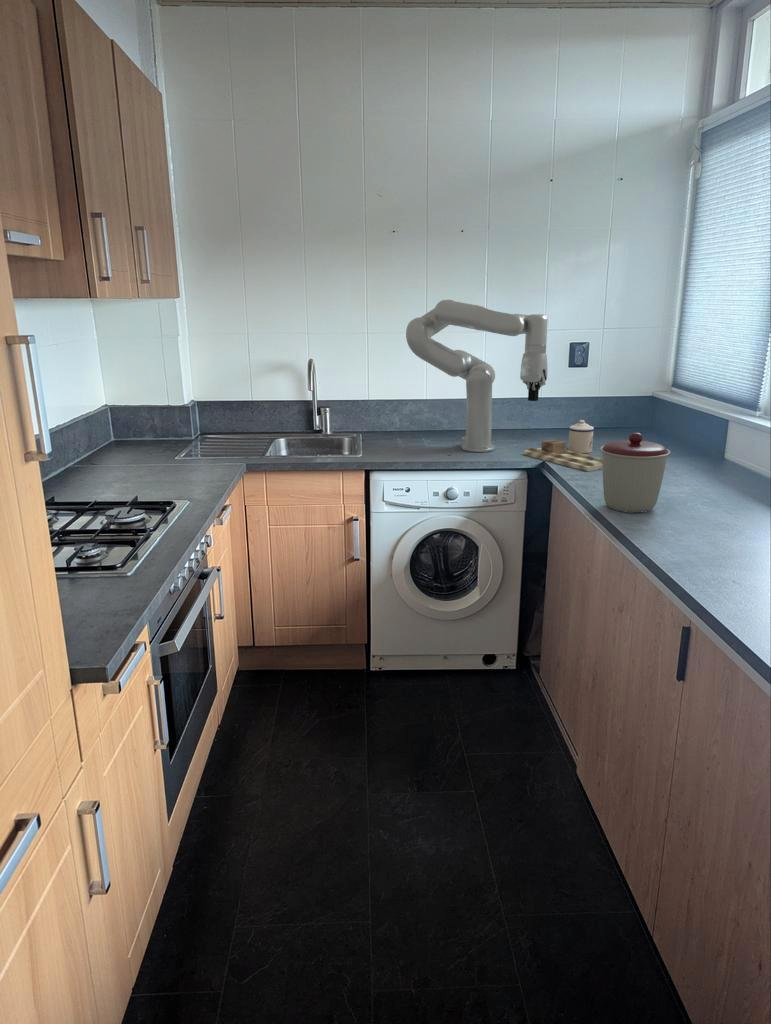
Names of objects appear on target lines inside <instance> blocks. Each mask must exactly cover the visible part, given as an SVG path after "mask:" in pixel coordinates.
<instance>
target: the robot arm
mask: <svg viewBox="0 0 771 1024" xmlns="http://www.w3.org/2000/svg"><path fill="white" fill-rule="evenodd" d="M449 326H455V327H461V328H466V329H470V330H476V331H481V332H482V331H483V332H489V333H493V334H497V335H498V334H499V335H501V336H503V335H504V336H506V337H507V336H508V337H517V336H519V335H524V334H525V341H524V342H525V343H524V345H525V346H524V353H523V354H522V358H521V364H520V374H519V379H520V380H521V381H522V383H523V384H525V386H526V388H527V391H528V393H527V401H528V402H530V401H531V402H538V401H539V393H540V392H539V391H540V389H541V388H542V387H543V386H545V385H547V384H546V381H547V380H548V356H547V342H548V341H547V339H548V316H547V315H546V314H539V313H538V314H520V313H507V312H501V311H496V310H492V309H488V308H486V307H484V306H482V305H477V304H472V303H465V302H460V301H454V300H452V299H443V300H440V301H439V302H437V304H436V305H435V307H434V308H432V309H431V310H429V311H428V312H427V313H425V314H424V315H422V316H421V317H415V318H413V319H412V320H410V321H409V322H408V324H407V326H406V329H405V339H406V343H407V345H408V348H409V349H410V350H411V352H412V353H413V354H414V355H415V356H416V357H418V358H419V359H421V360H423V361H424V362H426V363H428V364H430V365H431V366H433V367H435V368H436V369H437V370H440V371H442V372H443V373H445V374H446V375H448V376H449V377H453V378H455V377H459V378H461V379H463V380H465V389H466V405H465V406H466V413H465V415H466V419H465V420H466V421H465V423H466V425H465V435H464V436H462V437H461V440H462V441H464V444H462V445H461V449H462V450H463V451H465V452H471V453H485V452H492V451H495V448H496V447H495V445H494V444H493V443H492V419H493V418H492V415H493V384H494V381H495V379H496V371H495V370H494V368H493V367H492V365H490V364H489V363H487V362H485V361H483V360H482V359H480V358H478V357H476V356H475V355H473V354H471V353H469V352H467V351H464V350H462V349H454V350H453V349H452V348H450V347H448V346H446V345H445V344H443V343H441V342H438V341H436V340H434V339H433V338H432V337H434V336H435V335H436V334H438V333H440V332H441V331H442V330H444V329H445V328H447V327H449Z"/></svg>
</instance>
